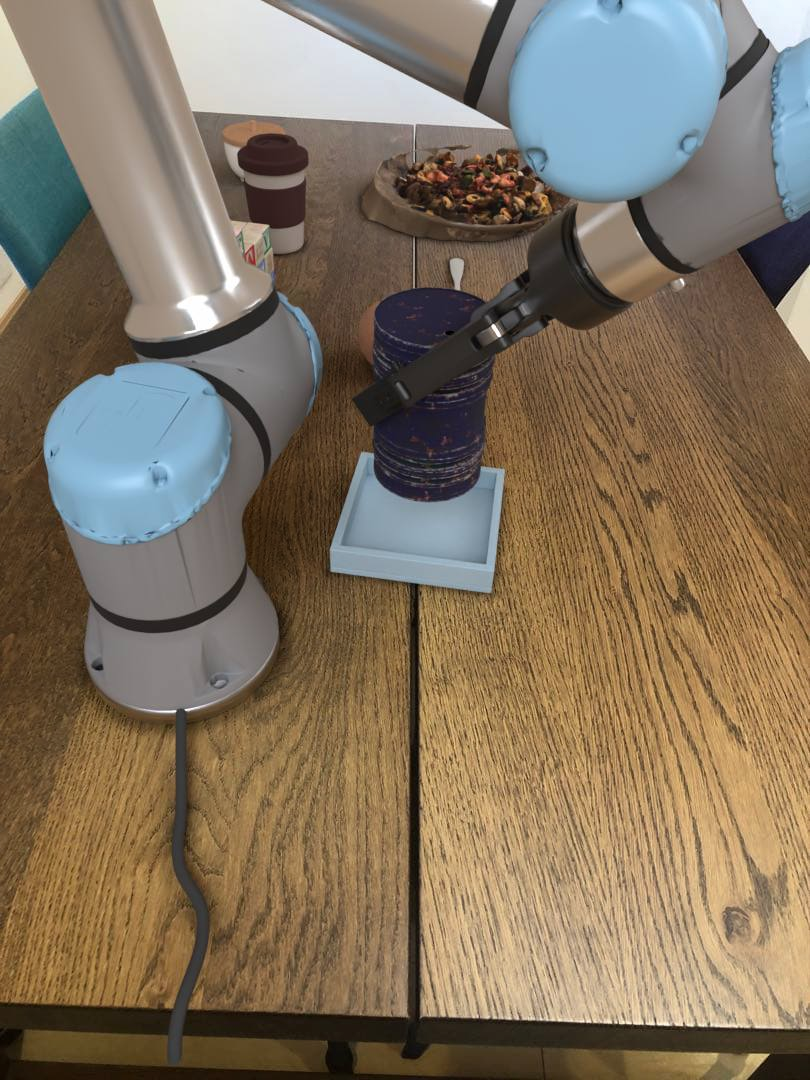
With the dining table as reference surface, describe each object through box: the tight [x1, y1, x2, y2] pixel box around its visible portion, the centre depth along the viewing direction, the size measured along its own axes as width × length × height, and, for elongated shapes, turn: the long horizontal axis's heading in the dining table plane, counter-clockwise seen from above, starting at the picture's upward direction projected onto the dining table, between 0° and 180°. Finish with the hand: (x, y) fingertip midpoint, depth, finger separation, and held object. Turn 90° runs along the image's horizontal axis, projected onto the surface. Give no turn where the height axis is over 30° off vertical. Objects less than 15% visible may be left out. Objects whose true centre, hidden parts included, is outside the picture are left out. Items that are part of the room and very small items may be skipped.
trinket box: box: [221, 119, 287, 183], centre depth 141 cm, size 11×11×9 cm
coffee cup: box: [237, 133, 310, 255], centre depth 119 cm, size 10×10×15 cm
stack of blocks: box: [230, 220, 277, 289], centre depth 102 cm, size 21×6×12 cm, turn 167°
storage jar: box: [371, 286, 496, 503], centre depth 68 cm, size 10×10×15 cm
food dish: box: [361, 143, 572, 243], centre depth 136 cm, size 35×33×8 cm
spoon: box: [449, 257, 465, 291], centre depth 114 cm, size 4×21×2 cm, turn 177°
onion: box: [356, 298, 384, 367], centre depth 96 cm, size 10×9×10 cm
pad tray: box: [329, 451, 506, 594], centre depth 78 cm, size 15×15×3 cm
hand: (400, 382), depth 69 cm, fingers closed on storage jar, 10 cm apart
